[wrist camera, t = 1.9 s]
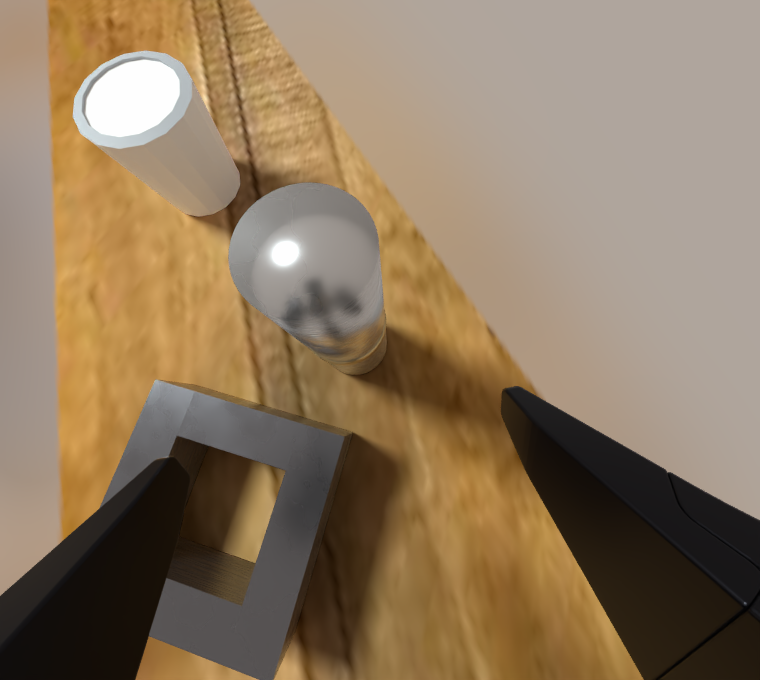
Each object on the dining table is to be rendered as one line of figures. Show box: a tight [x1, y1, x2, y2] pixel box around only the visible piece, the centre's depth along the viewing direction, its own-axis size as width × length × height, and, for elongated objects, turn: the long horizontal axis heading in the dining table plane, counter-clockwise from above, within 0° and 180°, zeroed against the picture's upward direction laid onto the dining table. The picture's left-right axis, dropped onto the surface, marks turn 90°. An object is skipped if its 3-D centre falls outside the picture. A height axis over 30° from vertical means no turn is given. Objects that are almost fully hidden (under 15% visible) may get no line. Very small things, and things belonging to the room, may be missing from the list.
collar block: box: [99, 380, 353, 680], centre depth 17 cm, size 11×11×4 cm
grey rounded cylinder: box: [228, 183, 387, 375], centre depth 15 cm, size 4×4×12 cm
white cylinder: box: [73, 51, 240, 217], centre depth 21 cm, size 7×7×7 cm
